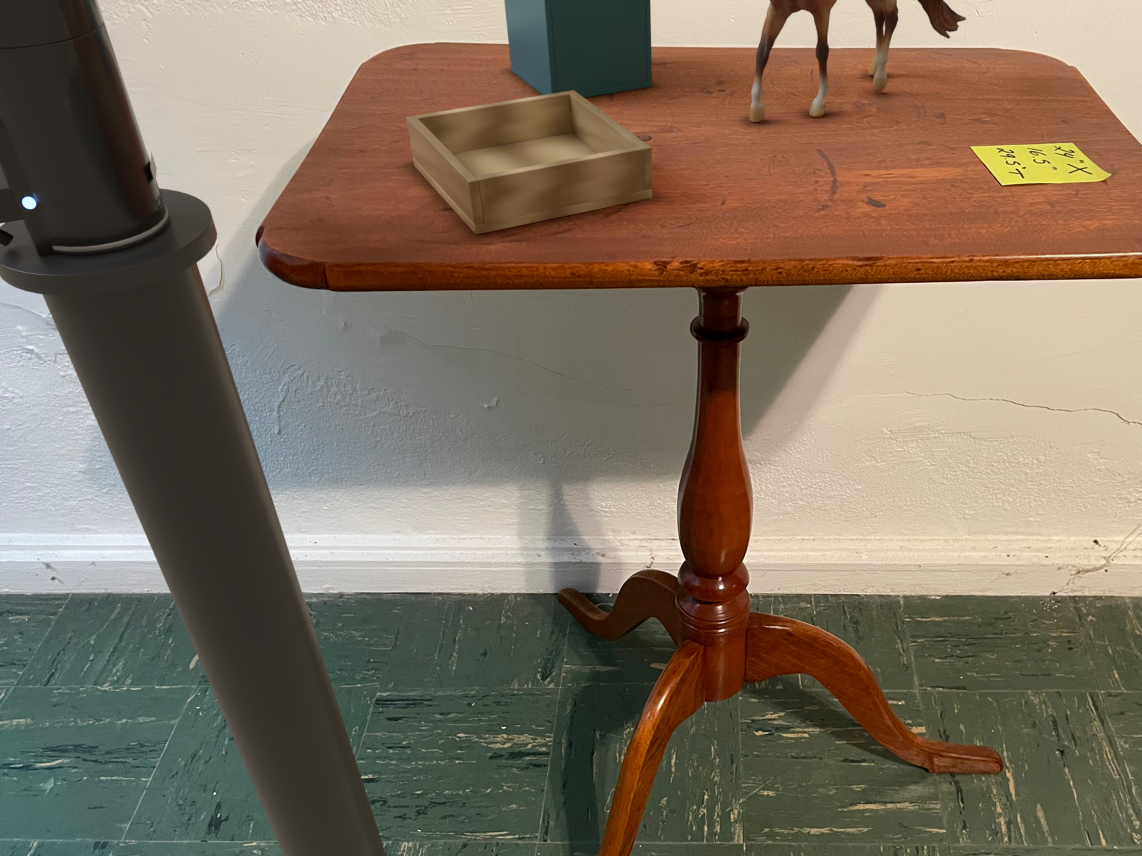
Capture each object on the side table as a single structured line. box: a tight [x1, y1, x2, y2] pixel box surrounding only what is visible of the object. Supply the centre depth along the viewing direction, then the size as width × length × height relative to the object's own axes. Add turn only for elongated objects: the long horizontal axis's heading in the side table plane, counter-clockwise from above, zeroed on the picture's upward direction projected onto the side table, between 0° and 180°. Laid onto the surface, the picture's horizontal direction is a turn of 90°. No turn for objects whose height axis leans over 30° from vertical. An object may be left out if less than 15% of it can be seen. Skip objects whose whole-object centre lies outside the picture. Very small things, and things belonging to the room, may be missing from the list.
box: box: [405, 90, 653, 235], centre depth 91 cm, size 16×16×4 cm
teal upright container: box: [504, 0, 653, 99], centre depth 110 cm, size 11×11×11 cm
